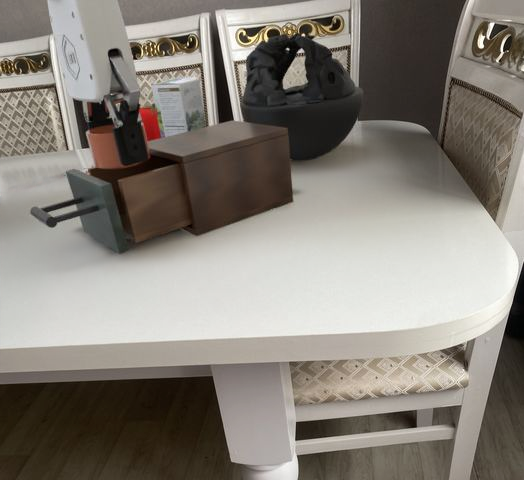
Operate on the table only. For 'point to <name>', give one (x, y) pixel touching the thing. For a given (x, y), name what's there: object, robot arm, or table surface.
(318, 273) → the table surface
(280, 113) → the black sculpted bowl
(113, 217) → the drawer
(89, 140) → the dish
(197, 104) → the syrup box
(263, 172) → the cabinet
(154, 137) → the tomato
